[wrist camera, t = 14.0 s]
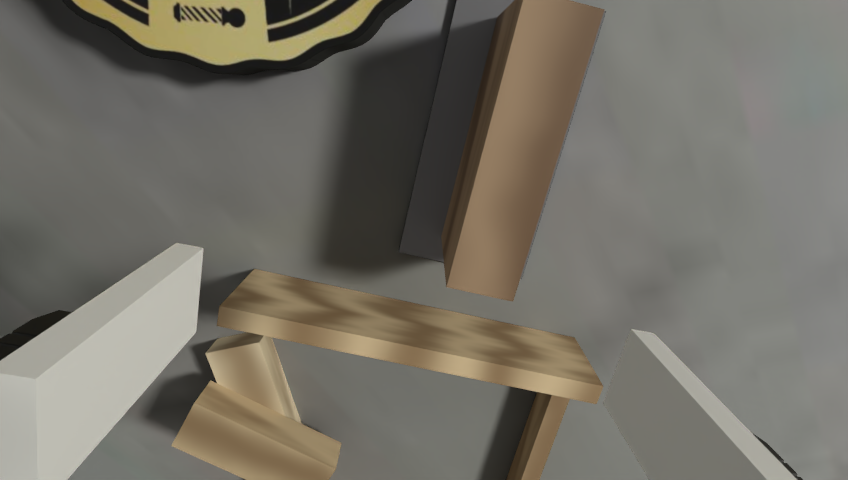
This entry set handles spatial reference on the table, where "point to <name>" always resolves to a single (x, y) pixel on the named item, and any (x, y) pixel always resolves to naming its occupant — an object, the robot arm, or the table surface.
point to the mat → (454, 125)
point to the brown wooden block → (515, 141)
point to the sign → (240, 29)
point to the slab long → (252, 371)
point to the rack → (424, 346)
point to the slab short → (254, 439)
